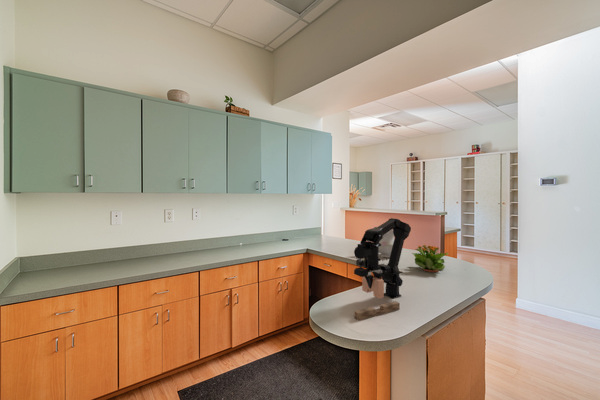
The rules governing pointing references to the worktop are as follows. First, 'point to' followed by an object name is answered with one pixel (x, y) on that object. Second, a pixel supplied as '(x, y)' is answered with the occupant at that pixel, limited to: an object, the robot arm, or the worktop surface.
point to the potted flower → (429, 259)
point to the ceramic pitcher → (386, 244)
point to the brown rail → (376, 310)
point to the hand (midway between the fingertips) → (372, 287)
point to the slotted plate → (374, 287)
